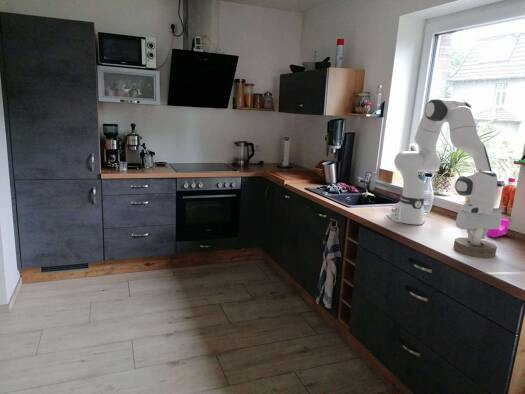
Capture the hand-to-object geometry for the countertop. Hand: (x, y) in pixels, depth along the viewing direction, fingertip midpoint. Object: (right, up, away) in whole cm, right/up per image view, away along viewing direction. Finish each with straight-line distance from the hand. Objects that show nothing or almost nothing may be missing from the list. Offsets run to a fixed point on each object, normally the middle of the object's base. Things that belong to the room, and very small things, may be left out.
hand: (475, 238), depth 173 cm
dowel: (0, -5, +1) cm, 5 cm away
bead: (0, -6, +1) cm, 6 cm away
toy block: (+28, -2, +34) cm, 44 cm away
